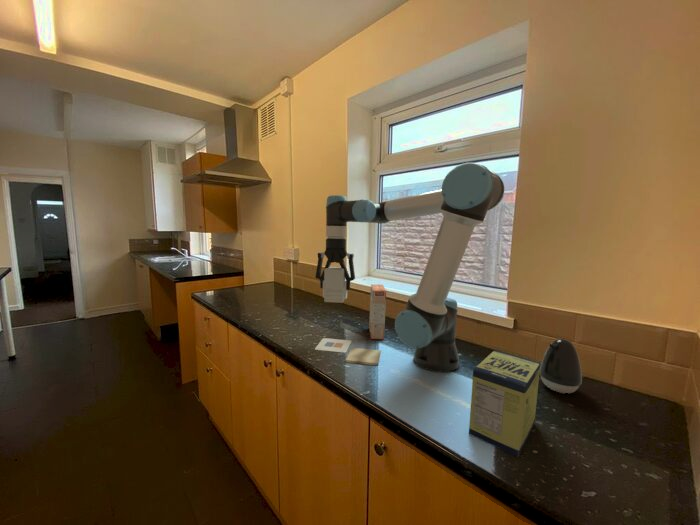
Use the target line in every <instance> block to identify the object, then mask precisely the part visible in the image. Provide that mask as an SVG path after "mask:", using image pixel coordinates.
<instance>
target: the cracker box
mask: <svg viewBox="0 0 700 525" xmlns="http://www.w3.org/2000/svg"><path fill="white" fill-rule="evenodd" d="M369 299H370V303H369V321H368V322H369V323H368V324H369V325H368V326H369V329H368V330H369V335H370V339H371V340H385V326H386V325H385V323H386V322H385V321H386V304H387V289H386V288H385V286H384V284H371V285H370V298H369Z"/></svg>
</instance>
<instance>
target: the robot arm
mask: <svg viewBox="0 0 700 525" xmlns="http://www.w3.org/2000/svg"><path fill="white" fill-rule="evenodd" d="M504 194H505V183H504V181H503V179H502V178H501V177H500V175H499V174H497V173H496V172H494V171H492V170H491V169H489V168H488V167H487V166H485V165H482V164H479V163H475V162H465V163H462V164H459V165H456V166H455V167H453V168H452V169H451V170H450V171H449V172H448V173H447V174H446V176H444V179H443V182H442V184H441V189H438V190H433V191H428V192H423V193H418V194H413V195H409V196H405V197H401V198H400V197H399V198H395V199H391V200H385V201H381V202H374V201H372V200H370V199H364V198H363V199H356V200H347V199H348V198H347V196H345V195H341V194H340V195H337V194H336V195H333V194H332V195H329V196H328V197H327V198H326V204H325V205H326V206H325V213H326V214H325V216H326V218H325V219H326V224H325V225H326V226H325V236H326V237H327V238H326V239H325V249H324V252H323V251H322V252H318V253H317V258H318V259H317V266H316V272H315V279H317V280H320V281H319V283H320V285H319V287H320V289H322V298H324V269H325V268H329V267H331V265H332V264H333V263H336V264H339V267H341V268H342V269H344V276H345V282H344V300H346V299H347V298H348V291H349V290H350V289H351V282H352V281H354V280H356V275H355V267H354V257H355V254H354V253H349V252H347V249H346V248H347V239H346V237H347V223H349V222H350V223H351V222H352V223H373V224H378V225H379V224H387V223H389V222H392V221H399V220H405V219H414V218H418V217H425V216H432V215H436V214H437V215H438V214H442V217H443V218H442V220H441V223H440V226H439V229H438V231H437V235H436V237H435V240H434V243H433V246H432V248H431V251H430V254H429V257H428V260H427V263H426V265H425V268H424V270H423V274H422V277H421V279H420V282H419V285H418V287H417V290H416V293H413V294H411V295H410V296H409V298H408V300H407V303H406V306H405V309H404V310H401V311H400V312H399V313H398V314H397V316H396V317H395V320H394V329H395V332H396V333H397V337H398V338H399V339H400V341H401V342H402V343H403V344H404V345H406V346H407V347H410V348H413V349H415V350H414V352H413V361H415V362H414V363H415V364H416V365H417V364H418V365H417V366H419V367H420V366H421V367H420V368H422V367H423V369H426V370H429V371H432V370H433V371H432V372H437V371H449V372H453V371H452V370H454V371H455V369H456V370H458V369H459V367H460V356H459V353H458V349H457V345H456V334H457V321H458V320H457V318H458V311H459V310H458V302H457V301H456V299H453V298H451V297H450V298H449V297H448V295H449V292H450V291H451V288H452V285H453V283H454V280H455V277H456V275H457V272H458V270H459V268H460V265H461V262H462V259H463V257H464V255H465V252H466V250H467V247H468V245H469V241H470V240H471V237H472V235H473V232H474V230H475V228H476V226H478V225H480V224H482V223H484V220H485V218H486V215H487V212H488V211H491V210H492V209H495V207H497V205H499V204H500V202H501V201H502V199H503V197H504ZM325 257H326V259H327V260H326V263H325V265H324V268H323V263H324V258H325ZM346 257H347V260H348V267H349V271H348V268H347V267H346V264H345V258H346ZM322 268H323V269H322ZM322 270H323V271H322ZM349 274H350V275H349ZM458 366H459V367H458Z"/></svg>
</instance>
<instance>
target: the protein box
mask: <svg viewBox="0 0 700 525" xmlns="http://www.w3.org/2000/svg"><path fill="white" fill-rule="evenodd" d="M540 366H541V362H539V361H536V360H532V359H529V358H525V357H521V356H519V355H518V356H517V355H514V354H510V353H507V352H503V351H500V350H496V349H494V350H493V351H492V352H491V353H490V354H488V355H487V357H485V358H484V359H483V360H481V362H479V364H477V365H476V366H475V367H474V368H473V372H472V383H471V384H472V385H471V386H472V387H471V400H470V401H471V402H470V412H469V424H468V425H469V427H468V434H469V435H470V434H471V435H470V436H472V437H475V438H476V439H479V440H480V441H484V442H485V443H488V444H489V443H490V445H492V446H494V447H496V448H498V447H499V449H500V448H501V449H500V450H503V451H504V450H505V451H504V452H506V451H507V453H508V454H511V455H513V456H515V457H517V456H518V457H517V458H519V457H520V455H521V453H522V450H523V448H524V447H525V445H526V442H527V440H528V438H529V437H530V434H531V432H532V430H533V428H534V425H535V423H536V422H535V421H536V412H537V401H538V390H539V382H540V373H539V372H540Z"/></svg>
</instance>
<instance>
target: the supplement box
mask: <svg viewBox="0 0 700 525" xmlns="http://www.w3.org/2000/svg"><path fill="white" fill-rule="evenodd" d="M324 268H325V267H324ZM324 268H323V270H324V300H323V301H324V303H344V302H345V299H344V282H345V281H346V279H345V276H344V269H342V268H341V266H330V267H329V268H325V269H324Z"/></svg>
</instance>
